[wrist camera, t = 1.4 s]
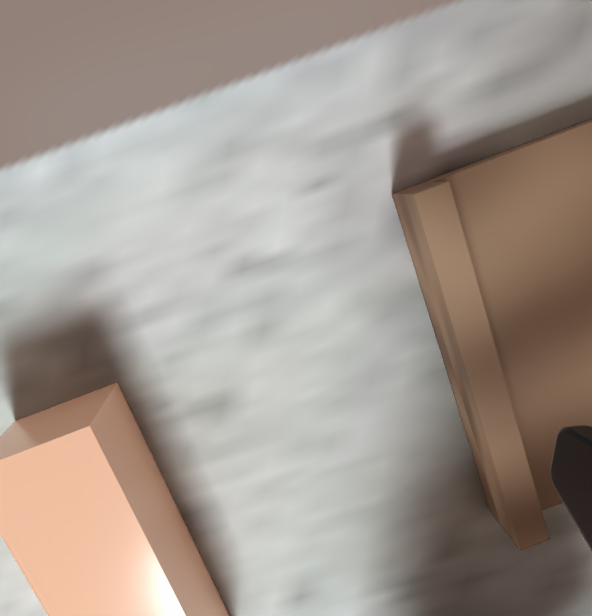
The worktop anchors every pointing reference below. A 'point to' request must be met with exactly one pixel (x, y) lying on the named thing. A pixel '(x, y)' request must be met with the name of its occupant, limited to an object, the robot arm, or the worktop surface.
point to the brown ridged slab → (512, 309)
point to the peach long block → (97, 516)
